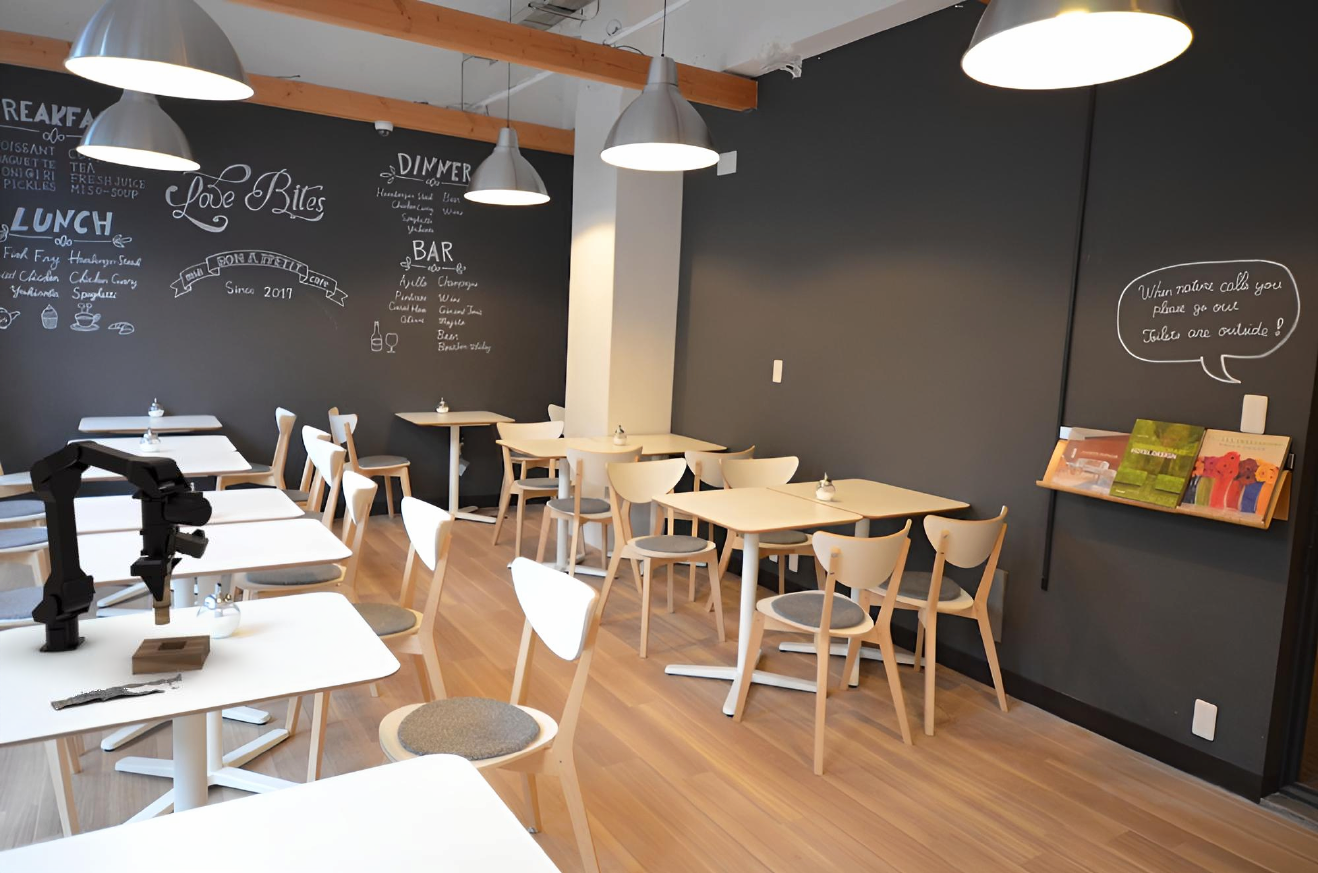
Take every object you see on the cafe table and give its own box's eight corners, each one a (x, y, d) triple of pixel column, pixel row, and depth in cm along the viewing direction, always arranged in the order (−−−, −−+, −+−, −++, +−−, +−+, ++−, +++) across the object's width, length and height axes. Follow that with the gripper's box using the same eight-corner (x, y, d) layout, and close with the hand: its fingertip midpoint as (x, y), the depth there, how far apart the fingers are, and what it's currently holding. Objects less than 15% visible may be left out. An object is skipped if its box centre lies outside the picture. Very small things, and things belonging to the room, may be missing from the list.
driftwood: (49, 715, 150) (48, 703, 150) (51, 700, 155) (50, 689, 155) (183, 694, 161) (183, 683, 161) (181, 681, 167) (181, 670, 166)
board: (145, 655, 176) (144, 639, 176) (210, 651, 180) (209, 635, 179) (132, 674, 167) (131, 657, 166) (201, 669, 170) (201, 652, 170)
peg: (155, 621, 172) (152, 562, 171) (173, 619, 173) (171, 562, 172) (151, 626, 169) (148, 567, 168) (169, 625, 170) (167, 566, 169)
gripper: (194, 531, 163) (197, 610, 165) (212, 511, 180) (215, 583, 182) (127, 533, 159) (131, 614, 161) (153, 513, 177) (155, 586, 179)
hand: (161, 598), depth 171 cm, fingers closed on peg, 3 cm apart
